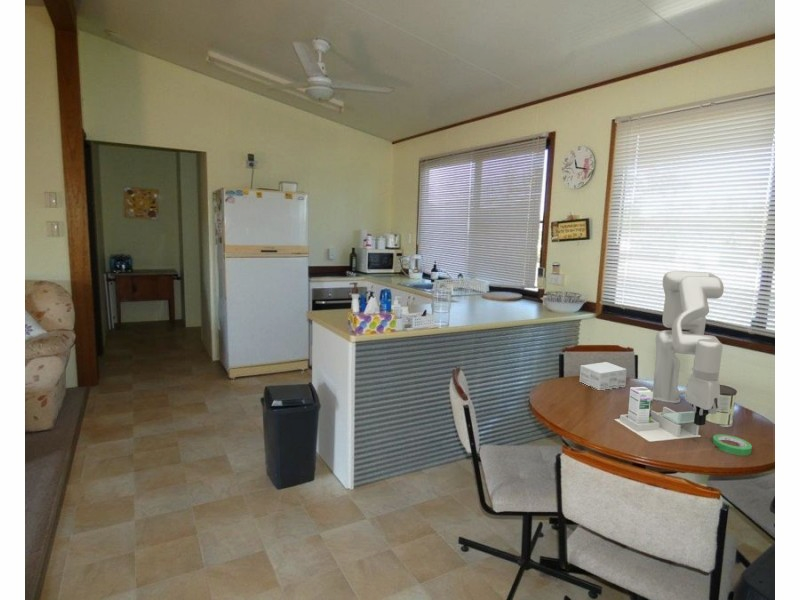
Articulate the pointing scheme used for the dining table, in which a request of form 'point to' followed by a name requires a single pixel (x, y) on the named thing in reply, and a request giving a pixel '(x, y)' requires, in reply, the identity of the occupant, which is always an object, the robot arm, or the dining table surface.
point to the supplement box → (603, 375)
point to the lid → (680, 417)
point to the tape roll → (742, 450)
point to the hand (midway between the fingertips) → (699, 424)
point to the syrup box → (640, 405)
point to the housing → (660, 427)
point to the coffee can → (724, 407)
